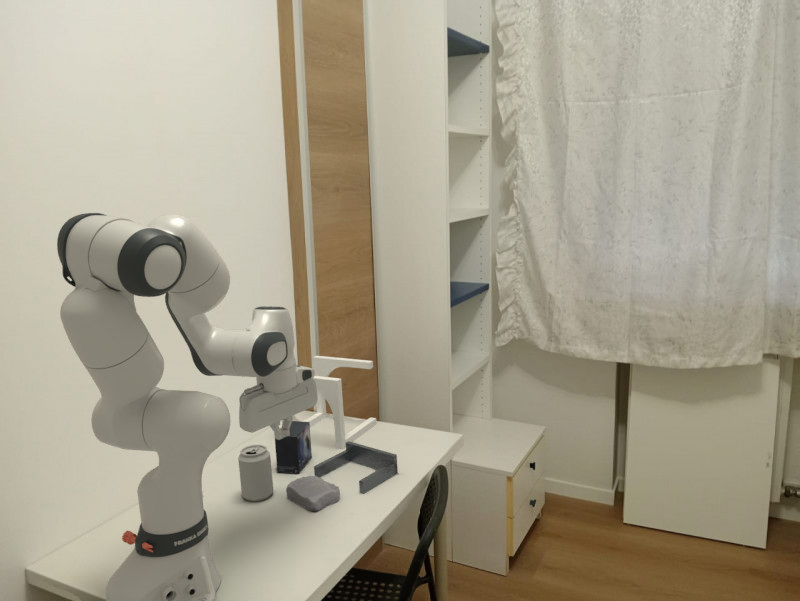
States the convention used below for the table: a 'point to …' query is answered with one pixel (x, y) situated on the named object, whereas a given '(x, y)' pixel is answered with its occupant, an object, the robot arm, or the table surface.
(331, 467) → the grey u-shaped bracket
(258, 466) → the can
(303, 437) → the small box
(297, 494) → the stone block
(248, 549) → the table surface
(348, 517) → the table surface
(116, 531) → the table surface
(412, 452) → the table surface
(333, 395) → the white open frame
